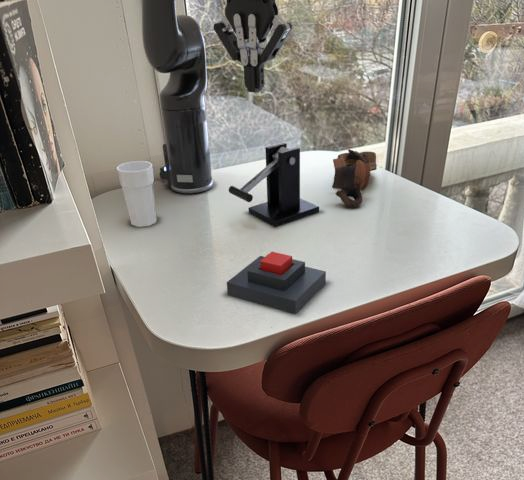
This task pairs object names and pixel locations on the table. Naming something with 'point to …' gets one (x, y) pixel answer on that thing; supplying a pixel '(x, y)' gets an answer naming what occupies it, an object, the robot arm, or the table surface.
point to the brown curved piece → (370, 156)
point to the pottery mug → (351, 178)
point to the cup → (138, 191)
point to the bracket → (283, 190)
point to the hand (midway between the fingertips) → (254, 91)
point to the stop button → (276, 263)
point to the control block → (277, 285)
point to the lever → (256, 179)
